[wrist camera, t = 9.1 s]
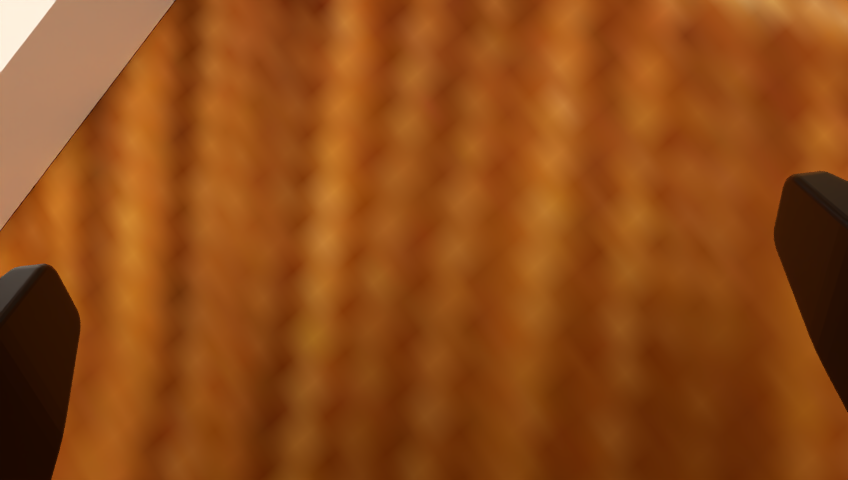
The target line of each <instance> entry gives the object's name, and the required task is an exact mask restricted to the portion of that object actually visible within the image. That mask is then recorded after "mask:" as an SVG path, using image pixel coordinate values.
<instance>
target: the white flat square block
mask: <svg viewBox="0 0 848 480" xmlns="http://www.w3.org/2000/svg"><path fill="white" fill-rule="evenodd" d="M174 1H175V0H0V230H1V229H2V228H3V226H4V225H5V224H6V222H7V221H8V220H9V218H10V217H11V216H12V214H13V213H14V212H15V210H16V209H17V208H18V206H19V205H20V204H21V203H22V201H23V200H24V199H25V197H26V196H27V195H28V193H29V192H30V191H31V189H32V188H33V187H34V185H35V184H36V183H37V181H38V180H39V179H40V177H41V176H42V175H43V174H44V172H45V171H46V170H47V168H48V167H49V166H50V164H51V163H52V162H53V160H54V159H55V158H56V156H57V155H58V154H59V152H60V151H61V150H62V149H63V147H64V146H65V145H66V143H67V142H68V141H69V139H70V138H71V137H72V135H73V134H74V133H75V131H76V130H77V129H78V127H79V126H80V125H81V124H82V122H83V121H84V120H85V118H86V117H87V116H88V114H89V113H90V112H91V110H92V109H93V108H94V106H95V105H96V104H97V102H98V101H99V100H100V98H101V97H102V96H103V95H104V93H105V92H106V91H107V89H108V88H109V87H110V85H111V84H112V83H113V81H114V80H115V79H116V77H117V76H118V75H119V73H120V72H121V71H122V70H123V68H124V67H125V66H126V64H127V63H128V62H129V60H130V59H131V58H132V56H133V55H134V54H135V52H136V51H137V50H138V48H139V47H140V46H141V44H142V43H143V42H144V41H145V39H146V38H147V37H148V35H149V34H150V33H151V31H152V30H153V29H154V27H155V26H156V25H157V23H158V22H159V21H160V19H161V18H162V17H163V16H164V14H165V13H166V12H167V10H168V9H169V8H170V6H171V5H172V4H173V2H174Z"/></svg>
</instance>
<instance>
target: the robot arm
mask: <svg viewBox="0 0 848 480" xmlns="http://www.w3.org/2000/svg"><path fill="white" fill-rule="evenodd" d="M774 242H775V246H776V249H777V252H778V255H779V257H780V260H781V263H782V265H783V268H784V271H785V273H786V276H787V278H788V281H789V284H790V286H791V289H792V291H793V294H794V297H795V299H796V302H797V305H798V307H799V310H800V312H801V315H802V318H803V320H804V323H805V326H806V328H807V331H808V333H809V336H810V338H811V341H812V343H813V345H814V348H815V350H816V352H817V354H818V356H819V358H820V360H821V362H822V364H823V366H824V368H825V370H826V372H827V374H828V376H829V378H830V380H831V382H832V383H833V385H834V387H835V389H836V391H837V393H838V395H839V397H840V399H841V400H842V402H843V404H844V406H845V408H846V410H847V412H848V181H846V180H844V179H842V178H839V177H837V176H835V175H833V174H830V173H828V172H825V171H817V172H808V173H800V174H793V175H791V176H790V177H789V178H787V180H786V181H785V184H784V187H783V190H782V195H781V200H780V204H779V209H778V213H777V218H776V222H775V227H774ZM79 335H80V317H79V313H78V311H77V308H76V307H75V305H74V303H73V301H72V299H71V297H70V295H69V293H68V292H67V290H66V288H65V286H64V284H63V282H62V280H61V278H60V277H59V275H58V273H57V272H56V270H55V269H54V268H53V267H52V266H50V265H47V264H37V265H29V266H21V267H16V268H14V269H12V270H10V271H9V272H8V273H6V274H5V275H4V276H2V277H1V278H0V480H51V478H52V475H53V471H54V468H55V464H56V461H57V457H58V453H59V450H60V446H61V442H62V438H63V433H64V428H65V423H66V417H67V411H68V405H69V398H70V392H71V386H72V380H73V373H74V367H75V361H76V354H77V348H78V342H79Z"/></svg>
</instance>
